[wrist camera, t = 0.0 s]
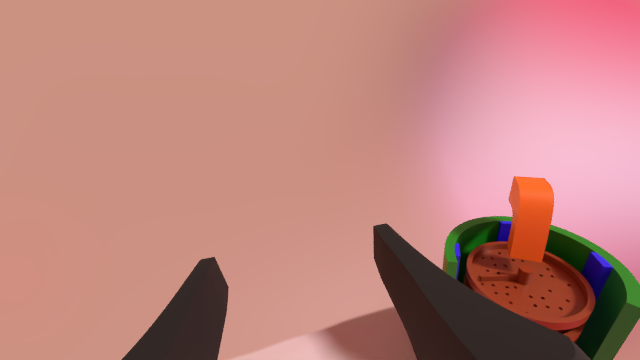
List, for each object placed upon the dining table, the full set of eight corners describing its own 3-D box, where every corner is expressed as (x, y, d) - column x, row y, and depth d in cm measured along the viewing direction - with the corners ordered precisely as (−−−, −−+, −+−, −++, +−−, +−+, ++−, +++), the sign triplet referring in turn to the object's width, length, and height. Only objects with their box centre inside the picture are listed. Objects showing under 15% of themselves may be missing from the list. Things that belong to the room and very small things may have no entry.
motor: (437, 421, 23) (462, 239, 14) (427, 325, 30) (439, 169, 22) (583, 457, 20) (729, 255, 11) (532, 341, 27) (594, 167, 19)
